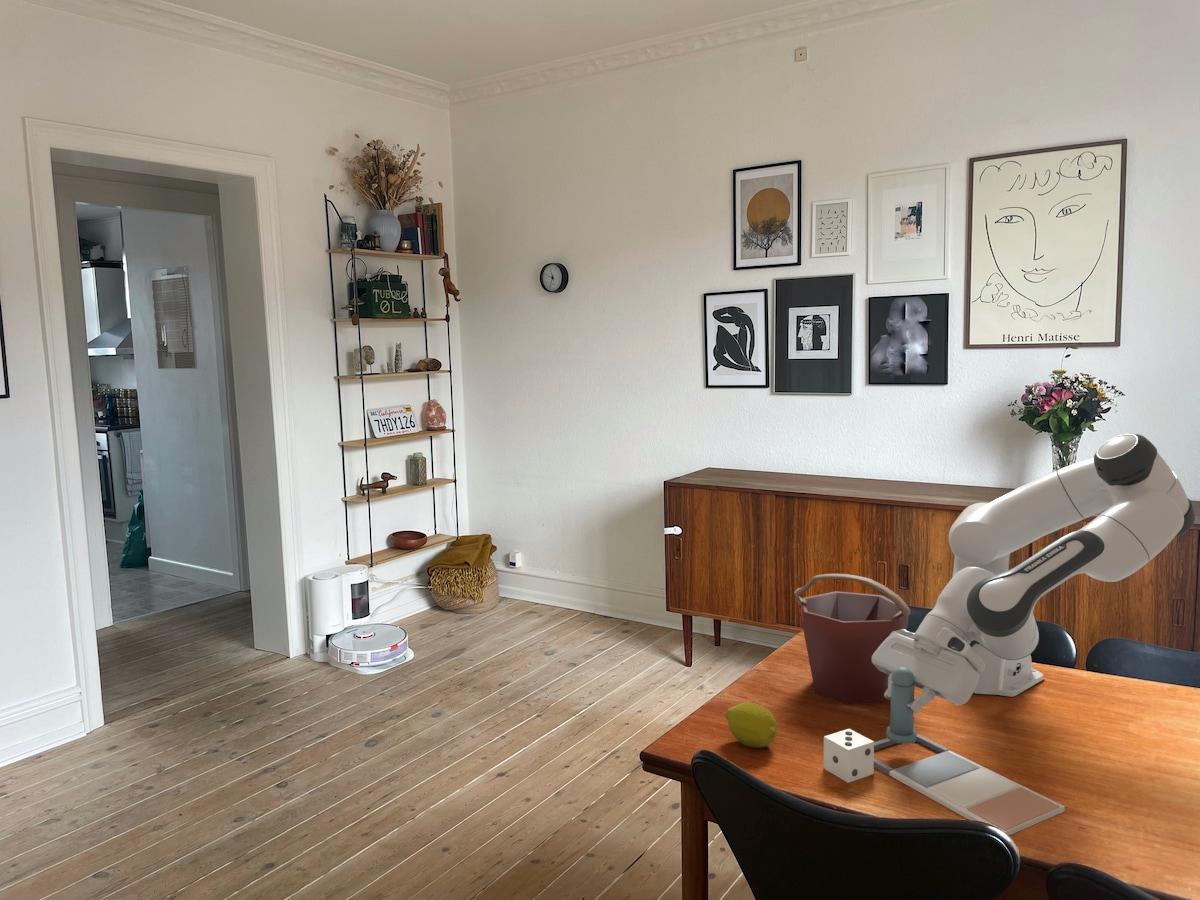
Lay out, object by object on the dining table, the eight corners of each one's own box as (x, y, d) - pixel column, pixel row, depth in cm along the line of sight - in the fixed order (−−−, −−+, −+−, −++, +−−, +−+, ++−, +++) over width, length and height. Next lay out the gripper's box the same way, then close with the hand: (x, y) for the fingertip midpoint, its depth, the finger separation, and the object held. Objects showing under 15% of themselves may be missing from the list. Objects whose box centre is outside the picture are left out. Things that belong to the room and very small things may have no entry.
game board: (910, 735, 167) (910, 730, 167) (1064, 811, 139) (1064, 805, 139) (852, 754, 160) (852, 749, 160) (1002, 838, 132) (1002, 832, 132)
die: (848, 760, 158) (849, 727, 157) (874, 774, 152) (874, 741, 152) (823, 768, 155) (823, 735, 154) (847, 783, 150) (848, 749, 149)
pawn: (900, 728, 162) (902, 660, 160) (922, 739, 157) (924, 669, 156) (880, 734, 160) (881, 665, 158) (902, 746, 155) (904, 675, 153)
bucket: (774, 685, 192) (774, 575, 189) (834, 660, 206) (834, 557, 203) (872, 720, 174) (873, 599, 170) (930, 690, 188) (932, 577, 185)
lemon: (787, 749, 162) (787, 708, 161) (756, 761, 158) (756, 719, 157) (748, 728, 172) (747, 690, 171) (717, 739, 167) (717, 699, 166)
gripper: (888, 617, 168) (849, 675, 165) (977, 649, 150) (936, 716, 147) (904, 635, 171) (866, 693, 168) (994, 669, 153) (953, 734, 150)
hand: (899, 704), depth 157 cm, fingers closed on pawn, 4 cm apart
